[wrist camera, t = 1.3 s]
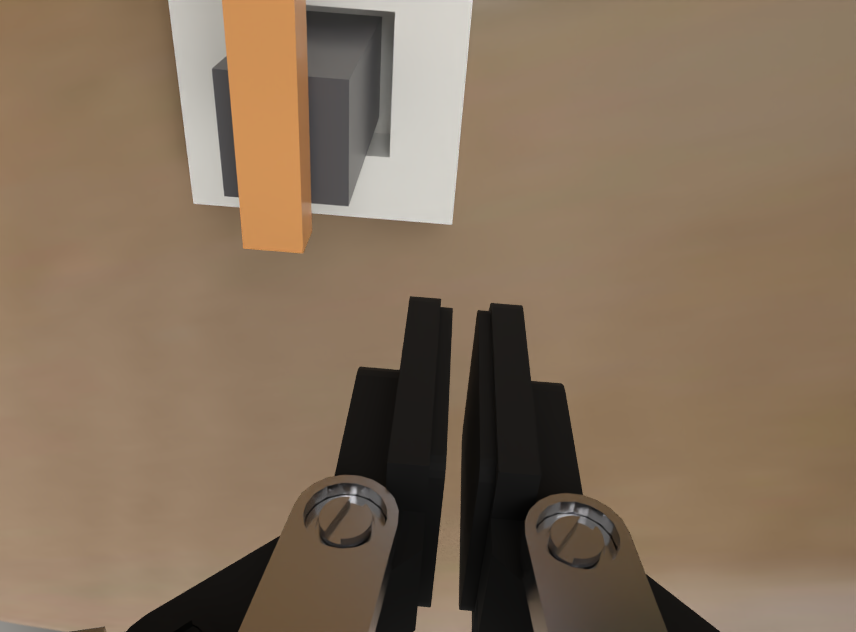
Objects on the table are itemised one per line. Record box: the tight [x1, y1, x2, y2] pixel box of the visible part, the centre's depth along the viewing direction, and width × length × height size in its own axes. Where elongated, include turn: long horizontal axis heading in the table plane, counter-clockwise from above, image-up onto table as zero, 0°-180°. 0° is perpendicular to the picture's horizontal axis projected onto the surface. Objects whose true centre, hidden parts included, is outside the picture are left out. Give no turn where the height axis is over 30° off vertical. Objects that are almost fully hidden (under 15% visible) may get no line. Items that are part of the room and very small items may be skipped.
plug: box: [212, 11, 382, 206], centre depth 28 cm, size 4×4×10 cm
